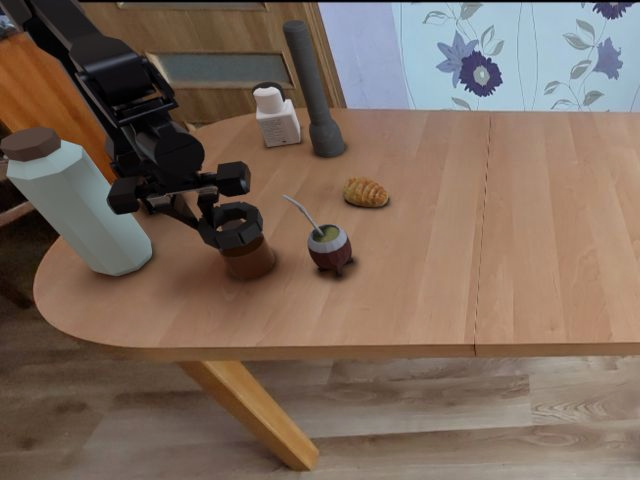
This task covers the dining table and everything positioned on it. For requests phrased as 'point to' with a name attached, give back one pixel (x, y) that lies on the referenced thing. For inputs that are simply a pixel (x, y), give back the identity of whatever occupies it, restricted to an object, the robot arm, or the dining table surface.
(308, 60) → the flashlight
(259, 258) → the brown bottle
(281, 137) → the container
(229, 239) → the black octagonal ring
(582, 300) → the dining table surface
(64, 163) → the water bottle
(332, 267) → the mate gourd
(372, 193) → the pastry
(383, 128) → the dining table surface
